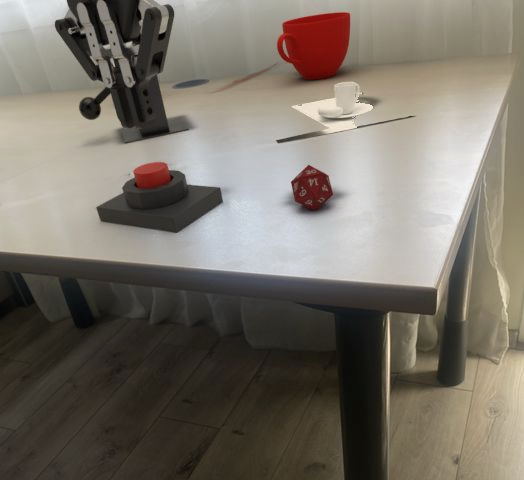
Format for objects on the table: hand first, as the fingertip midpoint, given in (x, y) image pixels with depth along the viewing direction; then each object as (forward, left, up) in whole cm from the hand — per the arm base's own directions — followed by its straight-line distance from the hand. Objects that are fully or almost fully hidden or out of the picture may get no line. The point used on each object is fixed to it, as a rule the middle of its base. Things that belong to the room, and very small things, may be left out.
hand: (139, 125), depth 52 cm
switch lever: (-25, +22, -2) cm, 34 cm away
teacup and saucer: (+1, +38, -9) cm, 39 cm away
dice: (+16, +5, -9) cm, 19 cm away
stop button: (0, 0, -6) cm, 6 cm away
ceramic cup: (-15, +64, -9) cm, 66 cm away
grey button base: (0, 0, -9) cm, 9 cm away
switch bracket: (-23, +25, -9) cm, 35 cm away
